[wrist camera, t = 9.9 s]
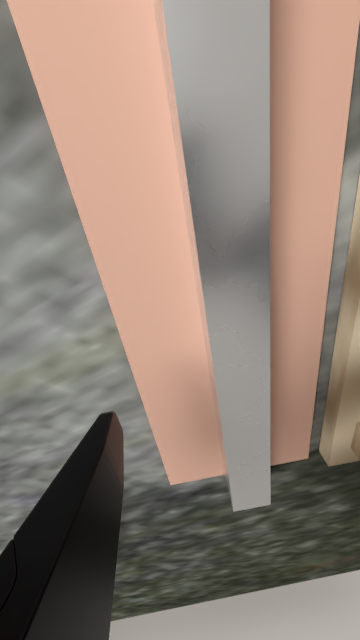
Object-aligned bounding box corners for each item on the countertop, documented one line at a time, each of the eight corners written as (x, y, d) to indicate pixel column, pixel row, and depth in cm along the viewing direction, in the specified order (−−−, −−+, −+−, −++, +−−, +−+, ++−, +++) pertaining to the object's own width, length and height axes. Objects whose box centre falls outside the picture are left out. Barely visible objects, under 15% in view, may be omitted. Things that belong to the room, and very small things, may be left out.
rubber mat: (305, 453, 20) (308, 458, 19) (170, 479, 20) (170, 485, 19) (373, -186, 7) (386, -206, 6) (-25, -107, 7) (-35, -122, 6)
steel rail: (257, 467, 19) (270, 504, 17) (224, 474, 19) (233, 511, 17) (229, -177, 6) (269, -349, 4) (128, -157, 6) (117, -318, 4)
